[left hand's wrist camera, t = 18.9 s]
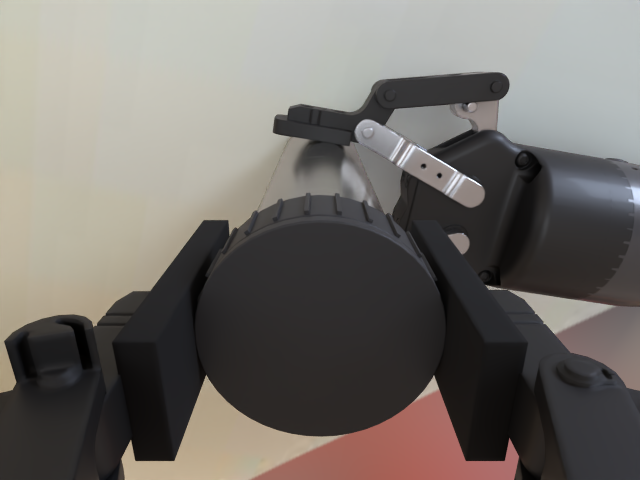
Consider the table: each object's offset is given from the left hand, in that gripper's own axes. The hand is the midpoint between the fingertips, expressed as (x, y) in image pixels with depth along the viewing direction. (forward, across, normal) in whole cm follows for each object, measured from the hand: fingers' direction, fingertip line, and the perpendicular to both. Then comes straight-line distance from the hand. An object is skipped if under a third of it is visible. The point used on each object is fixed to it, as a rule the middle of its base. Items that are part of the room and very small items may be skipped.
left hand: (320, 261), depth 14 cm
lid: (-4, 0, 0) cm, 4 cm away
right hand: (+9, -3, 0) cm, 10 cm away
